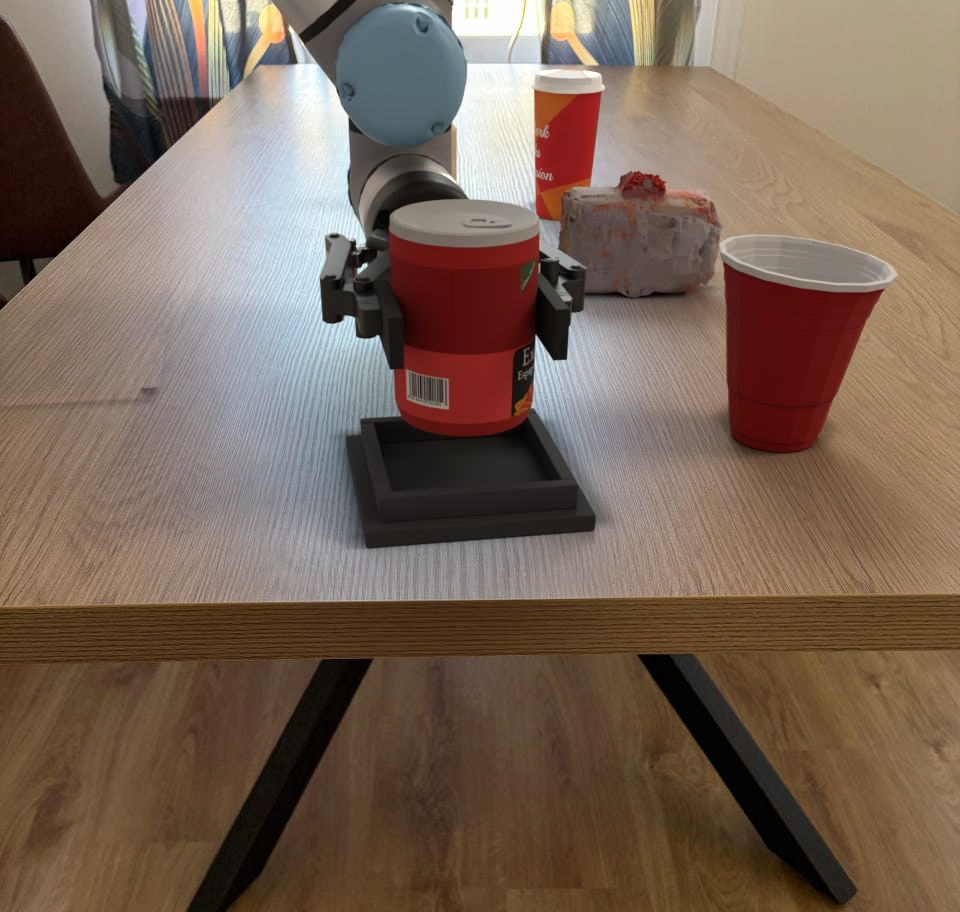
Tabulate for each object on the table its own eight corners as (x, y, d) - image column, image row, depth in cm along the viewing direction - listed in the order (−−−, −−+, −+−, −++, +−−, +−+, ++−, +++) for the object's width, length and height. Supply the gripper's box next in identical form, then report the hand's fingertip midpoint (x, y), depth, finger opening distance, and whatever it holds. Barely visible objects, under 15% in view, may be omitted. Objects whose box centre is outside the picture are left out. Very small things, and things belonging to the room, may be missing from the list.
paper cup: (532, 203, 127) (538, 66, 119) (599, 208, 126) (609, 70, 118) (520, 220, 121) (525, 77, 113) (591, 225, 120) (601, 80, 112)
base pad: (366, 548, 61) (364, 507, 60) (346, 449, 72) (344, 413, 71) (595, 530, 63) (598, 490, 62) (543, 437, 74) (545, 401, 73)
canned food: (545, 435, 62) (554, 231, 56) (402, 443, 61) (396, 236, 55) (518, 384, 69) (524, 196, 62) (388, 391, 68) (381, 200, 61)
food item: (695, 274, 105) (708, 162, 100) (717, 300, 99) (733, 182, 93) (551, 275, 104) (557, 162, 99) (564, 302, 98) (571, 182, 92)
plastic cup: (885, 468, 71) (931, 276, 64) (717, 472, 70) (745, 278, 63) (827, 402, 80) (862, 228, 73) (678, 404, 79) (699, 229, 72)
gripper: (565, 276, 80) (665, 396, 61) (270, 289, 77) (282, 420, 58) (570, 164, 76) (680, 257, 57) (259, 173, 72) (268, 274, 54)
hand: (479, 339), depth 58 cm, fingers closed on canned food, 8 cm apart
